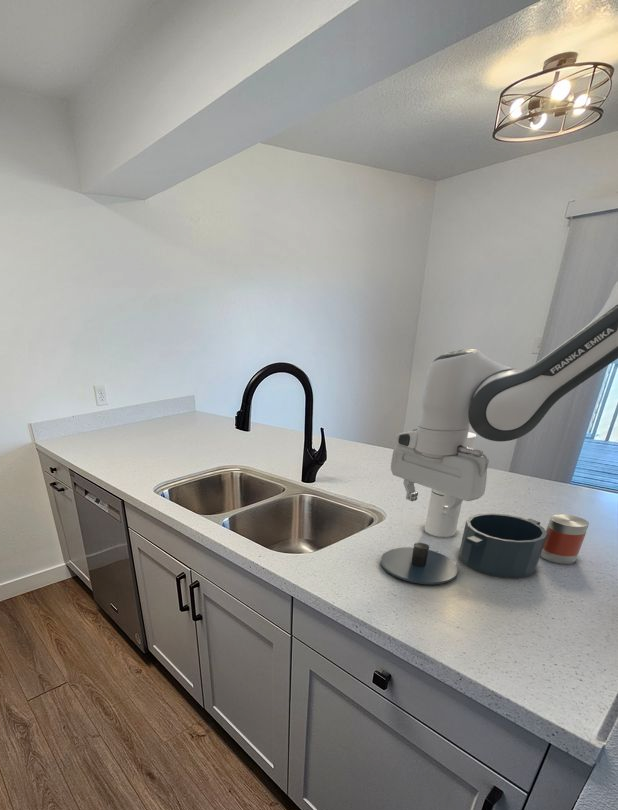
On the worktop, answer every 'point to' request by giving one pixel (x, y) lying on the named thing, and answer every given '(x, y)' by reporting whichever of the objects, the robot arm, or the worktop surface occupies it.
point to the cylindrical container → (435, 518)
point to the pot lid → (419, 565)
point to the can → (564, 538)
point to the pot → (502, 545)
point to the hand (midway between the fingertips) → (428, 507)
